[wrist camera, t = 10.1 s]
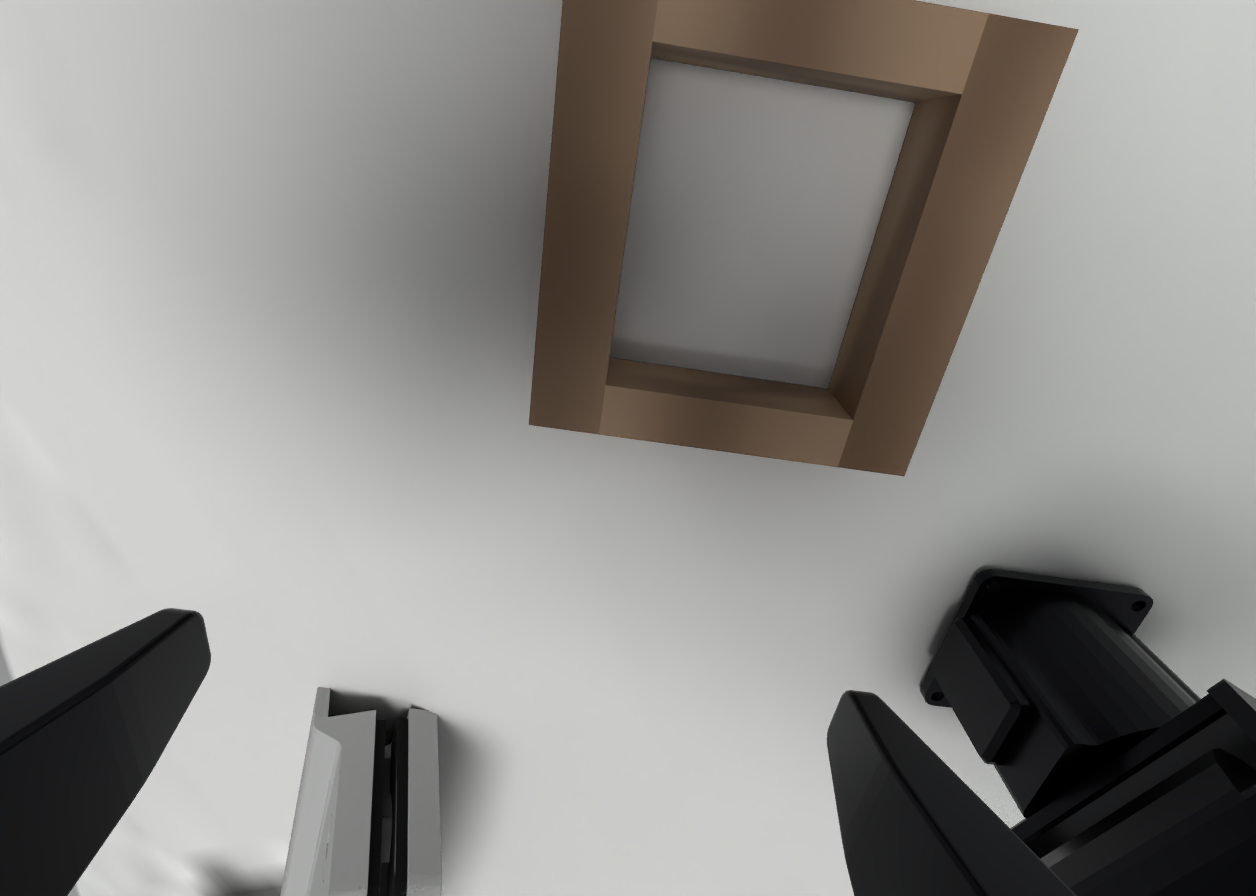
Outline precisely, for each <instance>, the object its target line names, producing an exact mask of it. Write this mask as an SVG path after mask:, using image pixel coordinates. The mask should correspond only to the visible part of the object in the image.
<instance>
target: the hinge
mask: <svg viewBox="0 0 1256 896" xmlns="http://www.w3.org/2000/svg"><path fill="white" fill-rule="evenodd" d="M329 700H330V688H322V687H319V688H318V689H317V694H316V700H315V705H314V711H313V717H312V722H311V728H310V733H309V739H308V744H307V750H306V756H305V761H304V767H303V772H302V778H301V783H300V789H299V795H298V800H297V806H296V811H295V817H294V822H293V828H292V834H291V839H290V845H289V850H288V856H287V861H286V867H285V873H284V878H283V884H282V889H281V895H280V896H441V887H442V868H441V833H440V797H439V762H438V727H437V714H435V713H432V712H430V711H428V710H421V709H411V708H410V709H409V712H408V715H407V718H406V719H398V720H397V724H396V728H395V732H394V735H393V739H392V743H391V744H389V745H387V746H385V733H386V720H376V710H372V711H365V712H359V713H352V714H346V715H339V716H332V717H328V711H329ZM382 815H384V816H385V817H384V818H382Z"/></svg>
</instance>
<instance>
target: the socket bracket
mask: <svg viewBox="0 0 1256 896" xmlns="http://www.w3.org/2000/svg"><path fill="white" fill-rule="evenodd" d="M1077 33H1078V29H1073V28H1067V27H1062V26H1056V25H1050V24H1045V23H1039V22H1033V21H1028V20H1022V19H1017V18H1011V17H1005V16H1000V15H994V14H988V13H983V12H977V11H972V10H966V9H960V8H955V7H949V6H943V5H938V4H932V3H927V2H921V1H915V0H563V6H562V18H561V31H560V43H559V56H558V68H557V81H556V93H555V106H554V118H553V131H552V143H551V155H550V168H549V180H548V193H547V205H546V218H545V230H544V243H543V255H542V268H541V280H540V293H539V305H538V317H537V330H536V342H535V355H534V367H533V380H532V392H531V405H530V417H529V425H535V426H542V427H549V428H557V429H564V430H571V431H578V432H586V433H593V434H600V435H608V436H615V437H622V438H629V439H637V440H644V441H651V442H659V443H666V444H673V445H680V446H688V447H695V448H702V449H709V450H717V451H724V452H731V453H739V454H746V455H753V456H760V457H768V458H775V459H782V460H790V461H797V462H804V463H811V464H819V465H826V466H833V467H841V468H848V469H855V470H862V471H870V472H877V473H884V474H892V475H899V476H904V475H905V473H906V470H907V468H908V465H909V463H910V460H911V457H912V455H913V452H914V450H915V447H916V445H917V442H918V440H919V437H920V434H921V432H922V429H923V427H924V424H925V422H926V419H927V417H928V414H929V411H930V409H931V406H932V404H933V401H934V399H935V396H936V393H937V391H938V388H939V386H940V383H941V381H942V378H943V376H944V373H945V370H946V368H947V365H948V363H949V360H950V358H951V355H952V353H953V350H954V347H955V345H956V342H957V340H958V337H959V335H960V332H961V330H962V327H963V324H964V322H965V319H966V317H967V314H968V312H969V309H970V306H971V304H972V301H973V299H974V296H975V294H976V291H977V289H978V286H979V283H980V281H981V278H982V276H983V273H984V271H985V268H986V266H987V263H988V260H989V258H990V255H991V253H992V250H993V248H994V245H995V242H996V240H997V237H998V235H999V232H1000V230H1001V227H1002V225H1003V222H1004V219H1005V217H1006V214H1007V212H1008V209H1009V207H1010V204H1011V202H1012V199H1013V196H1014V194H1015V191H1016V189H1017V186H1018V184H1019V181H1020V179H1021V176H1022V173H1023V171H1024V168H1025V166H1026V163H1027V161H1028V158H1029V155H1030V153H1031V150H1032V148H1033V145H1034V143H1035V140H1036V138H1037V135H1038V132H1039V130H1040V127H1041V125H1042V122H1043V120H1044V117H1045V115H1046V112H1047V109H1048V107H1049V104H1050V102H1051V99H1052V97H1053V94H1054V92H1055V89H1056V86H1057V84H1058V81H1059V79H1060V76H1061V74H1062V71H1063V68H1064V66H1065V63H1066V61H1067V58H1068V56H1069V53H1070V51H1071V48H1072V45H1073V43H1074V40H1075V38H1076V35H1077ZM650 58H656V59H662V60H668V61H673V62H679V63H685V64H691V65H697V66H703V67H709V68H715V69H721V70H727V71H733V72H739V73H744V74H750V75H756V76H762V77H768V78H774V79H780V80H786V81H792V82H798V83H804V84H810V85H815V86H821V87H827V88H833V89H839V90H845V91H851V92H857V93H863V94H869V95H875V96H880V97H886V98H892V99H898V100H904V101H910V102H916V104H915V108H914V111H913V114H912V117H911V121H910V124H909V127H908V130H907V134H906V137H905V140H904V144H903V147H902V150H901V153H900V157H899V160H898V163H897V166H896V170H895V173H894V176H893V179H892V183H891V186H890V189H889V192H888V196H887V199H886V202H885V205H884V209H883V212H882V215H881V219H880V222H879V225H878V228H877V232H876V235H875V238H874V241H873V245H872V248H871V251H870V254H869V258H868V261H867V264H866V267H865V271H864V274H863V277H862V280H861V284H860V287H859V290H858V293H857V297H856V300H855V303H854V307H853V310H852V313H851V316H850V320H849V323H848V326H847V329H846V333H845V336H844V339H843V342H842V346H841V349H840V352H839V355H838V359H837V362H836V365H835V368H834V372H833V375H832V378H831V382H830V385H829V388H828V389H824V388H817V387H810V386H804V385H797V384H790V383H783V382H776V381H769V380H762V379H755V378H748V377H741V376H734V375H727V374H720V373H713V372H706V371H699V370H692V369H685V368H678V367H671V366H664V365H657V364H651V363H644V362H637V361H630V360H623V359H616V358H609V357H610V349H611V342H612V335H613V327H614V320H615V313H616V305H617V298H618V291H619V283H620V276H621V269H622V261H623V254H624V247H625V239H626V232H627V225H628V217H629V210H630V203H631V195H632V188H633V181H634V173H635V166H636V159H637V151H638V144H639V137H640V129H641V122H642V115H643V107H644V100H645V93H646V85H647V78H648V71H649V63H650Z"/></svg>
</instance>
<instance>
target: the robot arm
mask: <svg viewBox="0 0 1256 896" xmlns="http://www.w3.org/2000/svg"><path fill="white" fill-rule="evenodd" d="M991 582H993V583H992V584H991V585H989V586H987V585H988V584H989V583H991ZM1152 605H1153V599H1152V598H1151V597H1150V596H1149V595H1147V594H1146V593H1145V592H1144V591H1143V590H1142V589H1139V588H1133V587H1125V586H1118V585H1110V584H1102V583H1095V582H1087V581H1079V580H1072V579H1064V578H1056V577H1049V576H1041V575H1033V574H1026V573H1018V572H1010V571H1003V570H995V569H987V570H984V571H982V572H980V573H979V574H977V576H976V577H975V578H974V580H973V582H972V584H971V586H970V588H969V590H968V592H967V594H966V597H965V599H964V601H963V603H962V605H961V607H960V609H959V611H958V613H957V615H956V617H955V619H954V621H953V623H952V625H951V627H950V629H949V631H948V633H947V635H946V637H945V639H944V642H943V644H942V646H941V648H940V650H939V652H938V654H937V656H936V658H935V660H934V662H933V664H932V666H931V668H930V670H929V672H928V674H927V676H926V678H925V680H924V682H923V684H922V686H921V690H920V691H921V693H922V695H923V697H924V699H925V701H926V702H927V703H928V704H930V705H934V706H943V707H951V708H953V710H954V712H955V714H956V716H957V717H958V719H959V721H960V723H961V724H962V726H963V728H964V730H965V731H966V733H967V735H968V737H969V738H970V740H971V742H972V744H973V745H974V747H975V749H976V751H977V753H978V754H979V756H980V757H981V759H982V760H983V761H984V762H985V763H987V764H993V765H994V766H995V768H996V770H997V771H998V773H999V775H1000V777H1001V778H1002V780H1003V782H1004V783H1005V785H1006V787H1007V789H1008V790H1009V792H1010V794H1011V796H1012V797H1013V799H1014V801H1015V802H1016V804H1017V806H1018V808H1019V809H1020V811H1021V813H1022V814H1023V816H1024V817H1025V819H1024V820H1022V821H1021V822H1019V823H1018V824H1016V825H1015V826H1013V827H1012V828H1009V827H1008V826H1007V825H1006V824H1005V823H1004V822H1003V821H1002V820H1001V819H1000V818H999V817H998V816H997V815H996V814H995V813H994V812H993V811H992V810H991V809H990V808H989V807H988V806H987V805H986V804H985V803H984V802H983V801H982V800H981V799H980V798H979V797H978V796H977V795H976V794H975V793H974V792H973V791H972V790H971V789H970V788H969V787H968V786H967V785H966V784H965V783H964V782H963V781H962V780H961V779H960V778H959V777H958V776H957V775H956V774H955V773H954V772H953V771H952V770H951V769H950V768H949V767H948V766H947V765H946V764H945V763H944V762H943V761H942V760H941V759H940V758H939V757H938V756H937V755H936V754H935V753H934V752H933V751H932V750H931V749H930V748H929V747H928V746H927V745H926V744H925V743H924V742H923V741H922V740H921V739H920V738H919V737H918V736H917V735H916V734H915V733H914V732H913V731H912V730H911V729H910V728H909V727H908V726H907V725H906V724H905V723H904V722H903V721H902V720H901V719H900V718H899V717H898V716H897V715H896V714H895V713H894V712H893V711H892V710H891V709H890V708H889V707H888V706H887V705H886V704H885V703H884V702H883V701H882V700H881V699H880V698H879V697H878V696H877V695H875V694H873V693H870V692H862V691H853V690H848V691H846V692H845V693H844V694H843V695H842V697H841V699H840V701H839V704H838V706H837V709H836V711H835V713H834V716H833V718H832V721H831V723H830V725H829V728H828V733H827V748H828V754H829V761H830V767H831V774H832V780H833V786H834V793H835V799H836V805H837V812H838V818H839V825H840V831H841V837H842V843H843V849H844V854H845V859H846V864H847V868H848V872H849V877H850V881H851V884H852V888H853V892H854V896H1256V699H1255V698H1253V697H1252V696H1250V695H1249V694H1247V693H1246V692H1244V691H1242V690H1241V689H1239V688H1238V687H1236V686H1235V685H1233V684H1232V683H1230V682H1228V681H1227V680H1225V679H1223V680H1221V681H1220V682H1218V683H1217V684H1215V685H1214V686H1212V687H1211V688H1209V689H1208V690H1207V692H1208V693H1209V694H1208V695H1207V696H1205V697H1204V698H1202V699H1200V698H1199V697H1198V696H1197V695H1196V694H1195V693H1194V692H1193V691H1192V690H1191V689H1190V688H1189V687H1188V686H1187V685H1186V684H1185V683H1184V682H1183V681H1182V680H1181V679H1180V678H1179V677H1178V676H1177V675H1176V674H1175V673H1174V672H1173V671H1171V670H1170V669H1169V668H1168V667H1167V666H1166V665H1165V664H1164V663H1163V662H1162V661H1161V660H1160V659H1159V658H1158V657H1157V656H1156V655H1155V654H1154V653H1153V652H1152V651H1151V650H1150V649H1149V648H1148V647H1147V646H1146V645H1145V644H1144V643H1143V642H1142V641H1141V640H1140V639H1138V638H1137V637H1136V636H1135V635H1134V633H1135V632H1136V630H1137V629H1138V627H1139V626H1140V624H1141V623H1142V621H1143V620H1144V618H1145V617H1146V615H1147V614H1148V612H1149V611H1150V609H1151V608H1152ZM210 662H211V653H210V648H209V643H208V638H207V633H206V628H205V623H204V619H203V617H202V615H201V614H200V613H199V612H196V611H191V610H183V609H174V608H168V609H163V610H161V611H158V612H156V613H154V614H152V615H150V616H148V617H146V618H144V619H142V620H139V621H137V622H135V623H133V624H131V625H129V626H127V627H125V628H123V629H120V630H118V631H116V632H114V633H112V634H110V635H108V636H106V637H104V638H101V639H99V640H97V641H95V642H93V643H91V644H89V645H87V646H85V647H83V648H80V649H78V650H76V651H74V652H72V653H70V654H68V655H66V656H64V657H61V658H59V659H57V660H55V661H53V662H51V663H49V664H47V665H45V666H42V667H40V668H38V669H36V670H34V671H32V672H30V673H28V674H26V675H23V676H21V677H19V678H17V679H15V680H13V681H11V682H9V683H7V684H4V685H2V686H0V896H67V895H68V894H69V892H70V891H71V890H72V888H73V887H74V885H75V884H76V882H77V881H78V880H79V878H80V877H81V875H82V874H83V872H84V871H85V869H86V868H87V867H88V865H89V864H90V862H91V861H92V859H93V858H94V856H95V855H96V854H97V852H98V851H99V849H100V848H101V846H102V845H103V843H104V842H105V841H106V839H107V838H108V836H109V835H110V833H111V832H112V830H113V829H114V828H115V826H116V825H117V823H118V822H119V820H120V819H121V817H122V816H123V815H124V813H125V812H126V810H127V809H128V807H129V806H130V804H131V803H132V801H133V800H134V798H135V797H136V795H137V794H138V792H139V791H140V789H141V788H142V786H143V785H144V783H145V782H146V780H147V778H148V777H149V775H150V773H151V772H152V770H153V768H154V767H155V765H156V763H157V761H158V760H159V758H160V756H161V754H162V753H163V751H164V749H165V747H166V745H167V744H168V742H169V740H170V738H171V737H172V735H173V733H174V731H175V729H176V728H177V726H178V724H179V722H180V721H181V719H182V717H183V715H184V713H185V712H186V710H187V708H188V706H189V705H190V703H191V701H192V699H193V697H194V696H195V694H196V692H197V690H198V689H199V687H200V685H201V683H202V681H203V680H204V678H205V676H206V674H207V672H208V669H209V666H210Z"/></svg>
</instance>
